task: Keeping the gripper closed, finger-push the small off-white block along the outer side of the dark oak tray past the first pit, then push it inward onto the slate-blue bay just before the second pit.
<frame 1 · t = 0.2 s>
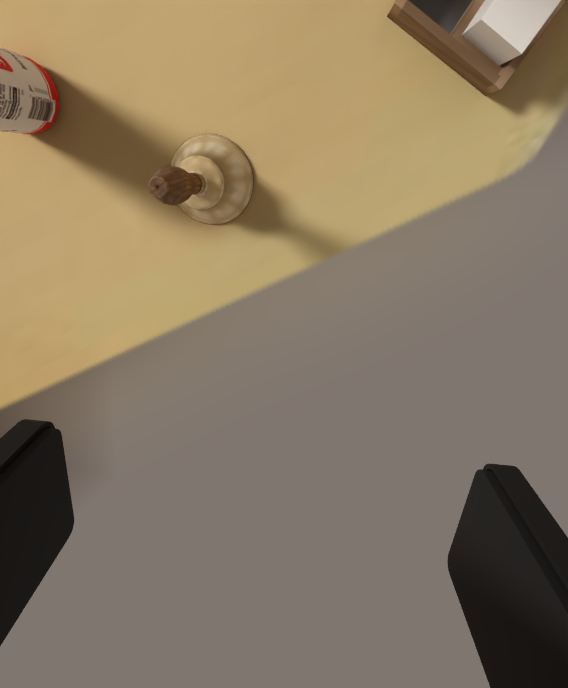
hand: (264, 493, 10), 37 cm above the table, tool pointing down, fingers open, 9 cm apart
beer can: (31, 97, 39), on the table
hand bell: (211, 180, 42), on the table
block: (497, 25, 34), point 2 cm above the table, touching tray
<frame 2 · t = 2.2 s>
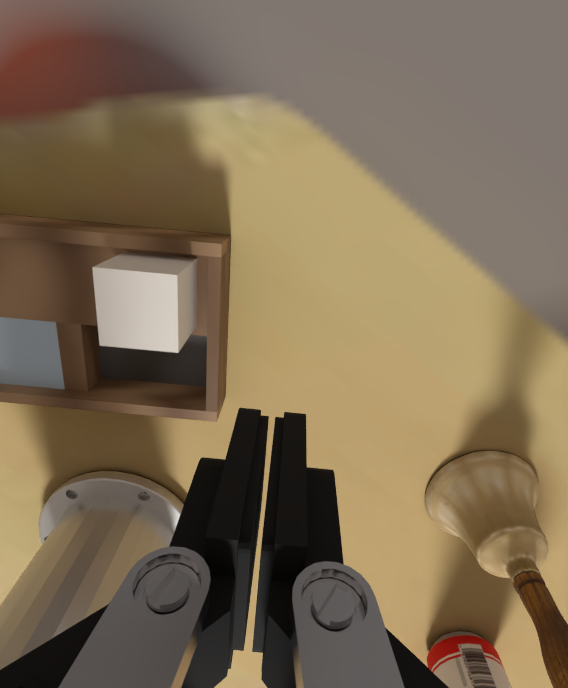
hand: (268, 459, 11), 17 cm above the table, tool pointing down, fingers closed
beer can: (457, 646, 39), on the table
tray: (89, 309, 27), on the table
hand bell: (479, 492, 32), on the table
block: (162, 289, 24), point 2 cm above the table, touching tray
bay: (40, 340, 28), resting in tray
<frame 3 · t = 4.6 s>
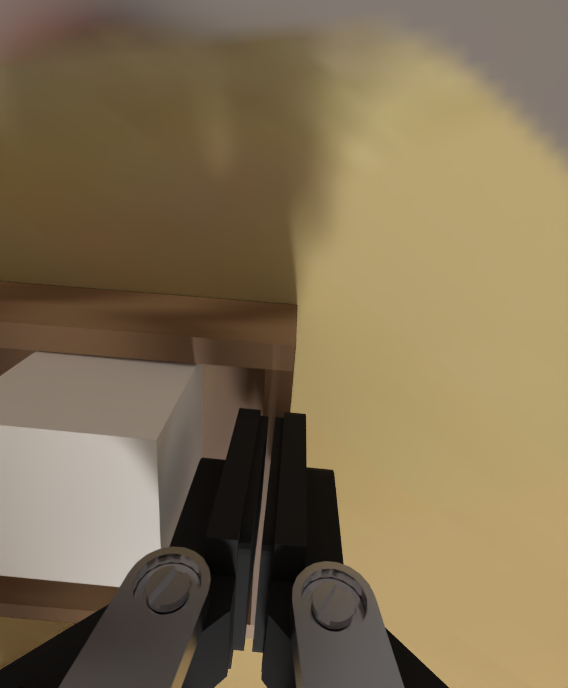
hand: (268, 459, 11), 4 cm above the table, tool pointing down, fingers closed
tray: (38, 429, 15), on the table
block: (134, 407, 12), point 2 cm above the table, touching gripper
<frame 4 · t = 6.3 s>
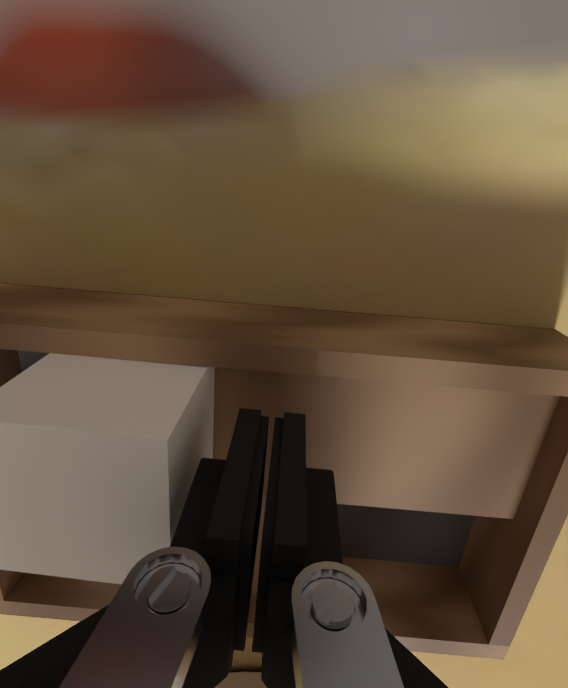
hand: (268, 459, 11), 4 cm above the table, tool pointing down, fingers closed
tray: (260, 448, 15), on the table
block: (145, 408, 12), point 2 cm above the table, touching gripper, tray
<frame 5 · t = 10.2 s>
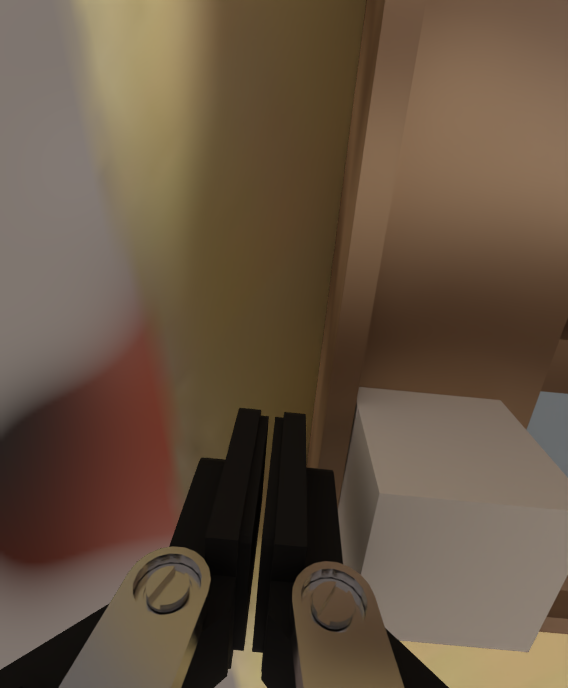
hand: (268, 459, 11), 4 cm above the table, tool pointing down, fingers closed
tray: (506, 326, 13), on the table
block: (411, 453, 12), point 2 cm above the table, touching gripper
bay: (550, 429, 14), resting in tray
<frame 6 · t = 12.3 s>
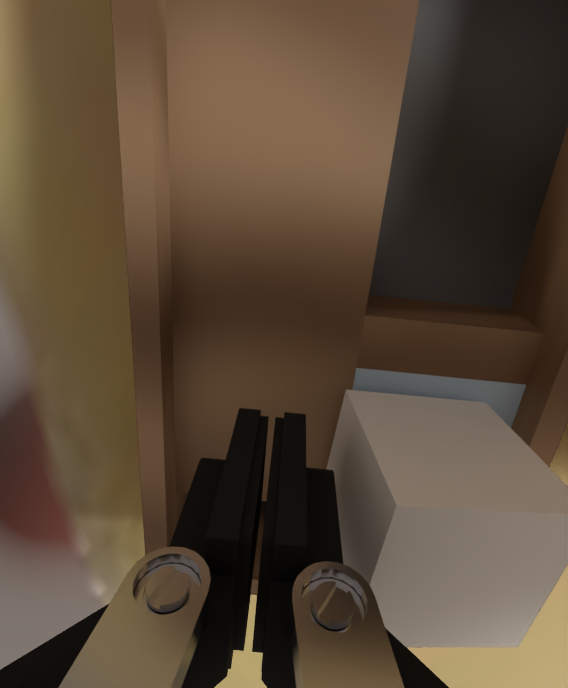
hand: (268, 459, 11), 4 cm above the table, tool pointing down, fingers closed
tray: (346, 306, 13), on the table
block: (398, 455, 12), point 2 cm above the table, tilted 8°, touching bay, gripper
bay: (405, 411, 14), resting in tray
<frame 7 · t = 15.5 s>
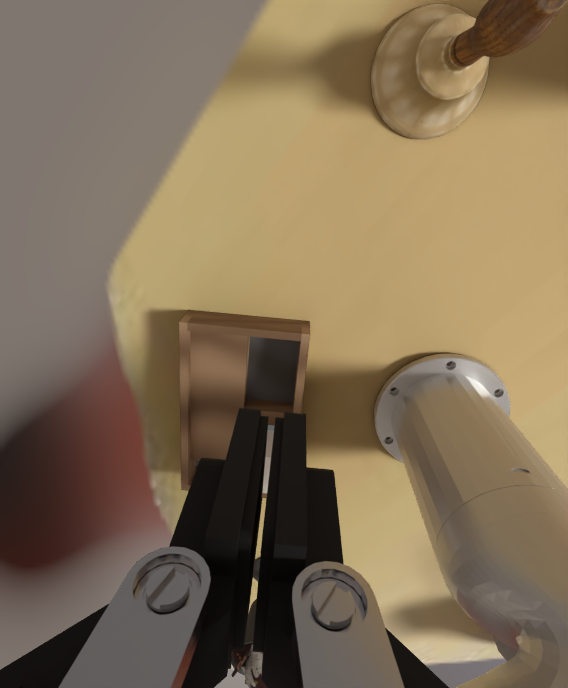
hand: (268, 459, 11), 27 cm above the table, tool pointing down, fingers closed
sundae: (272, 568, 51), on the table
tray: (244, 401, 41), on the table
hand bell: (427, 76, 30), on the table
block: (257, 445, 41), point 2 cm above the table, touching bay, tray
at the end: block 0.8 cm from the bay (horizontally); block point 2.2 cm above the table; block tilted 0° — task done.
